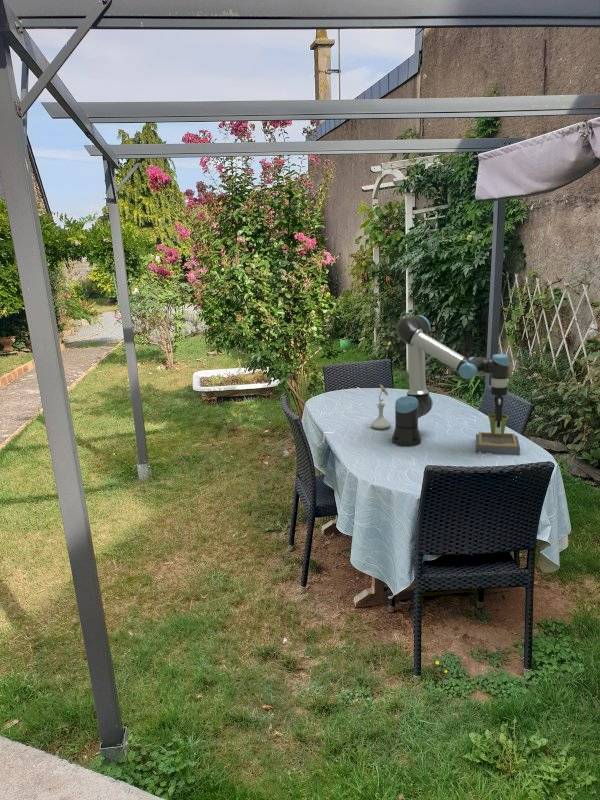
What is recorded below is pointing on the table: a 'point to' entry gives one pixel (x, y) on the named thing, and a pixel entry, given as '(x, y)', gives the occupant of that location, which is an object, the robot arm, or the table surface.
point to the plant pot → (492, 422)
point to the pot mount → (497, 443)
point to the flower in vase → (381, 414)
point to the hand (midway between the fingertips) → (497, 430)
